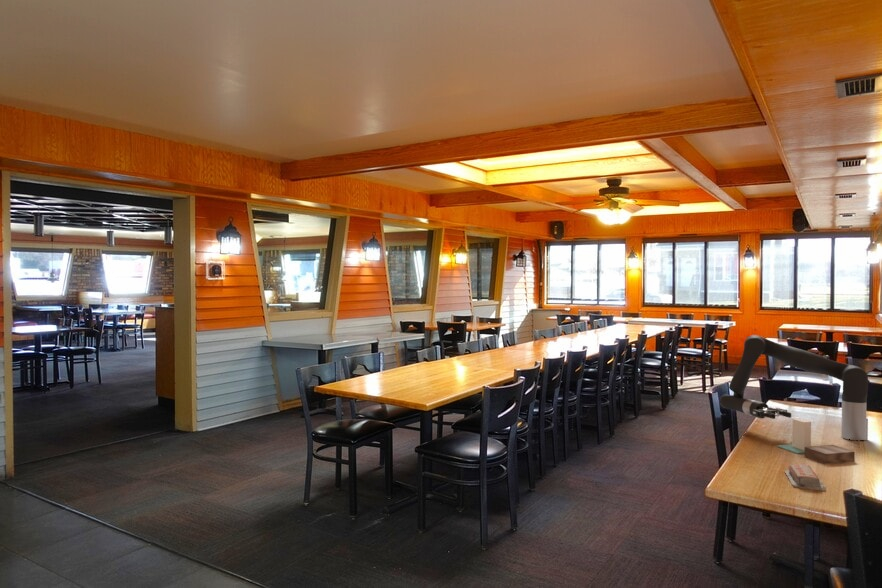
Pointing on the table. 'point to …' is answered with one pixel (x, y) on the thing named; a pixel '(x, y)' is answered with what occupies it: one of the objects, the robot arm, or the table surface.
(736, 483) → the table surface
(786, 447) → the mat
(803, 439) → the beige rectangular block
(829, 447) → the block
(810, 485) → the packaged product
